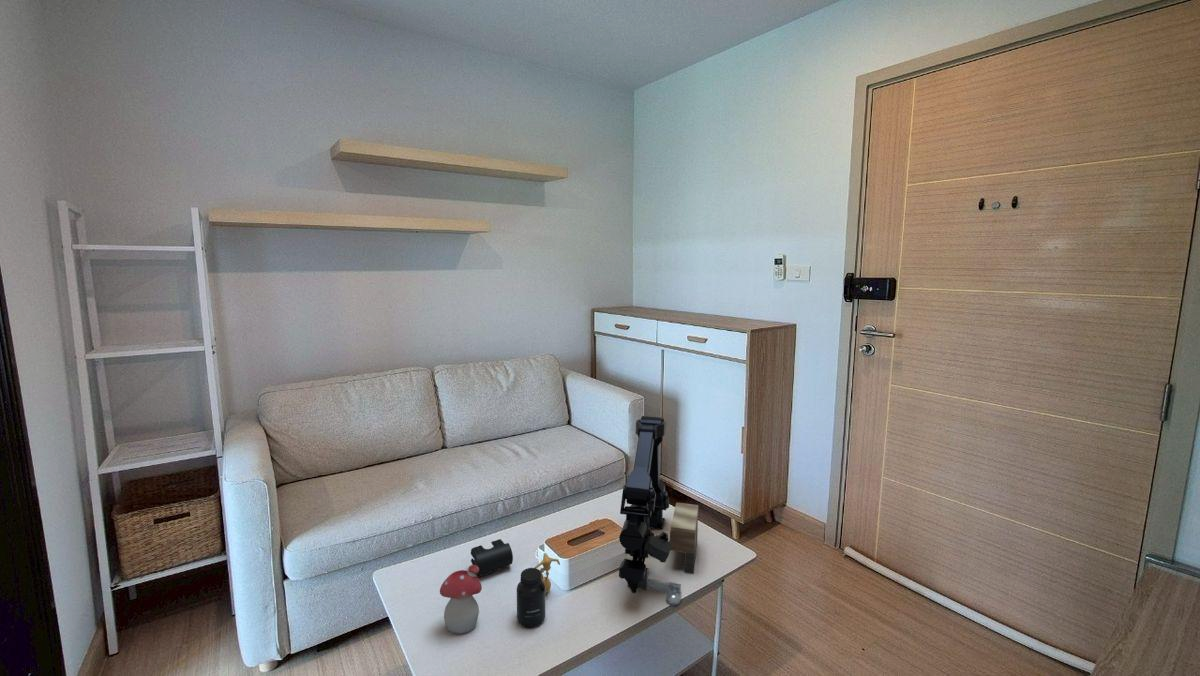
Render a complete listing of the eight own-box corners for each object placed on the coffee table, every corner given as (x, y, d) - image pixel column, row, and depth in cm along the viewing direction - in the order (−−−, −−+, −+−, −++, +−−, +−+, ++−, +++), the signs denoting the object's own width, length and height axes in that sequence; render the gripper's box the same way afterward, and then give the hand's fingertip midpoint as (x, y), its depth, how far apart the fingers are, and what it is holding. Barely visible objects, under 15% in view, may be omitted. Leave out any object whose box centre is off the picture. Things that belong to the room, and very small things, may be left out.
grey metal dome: (666, 595, 129) (667, 588, 128) (681, 597, 128) (681, 590, 127) (665, 604, 125) (665, 597, 125) (679, 607, 124) (680, 600, 124)
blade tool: (629, 582, 134) (629, 565, 133) (680, 590, 130) (681, 573, 129) (627, 587, 132) (627, 569, 131) (680, 596, 128) (680, 578, 127)
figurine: (554, 582, 134) (554, 541, 132) (564, 595, 128) (563, 553, 126) (525, 592, 130) (524, 550, 128) (534, 606, 124) (533, 563, 122)
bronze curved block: (674, 542, 152) (675, 502, 150) (697, 545, 150) (698, 505, 148) (668, 570, 139) (669, 526, 137) (693, 573, 137) (695, 530, 135)
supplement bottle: (531, 633, 116) (530, 586, 114) (511, 620, 120) (509, 575, 118) (551, 616, 121) (550, 571, 119) (531, 604, 125) (530, 561, 123)
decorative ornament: (486, 616, 121) (483, 560, 119) (477, 637, 115) (475, 577, 112) (448, 615, 122) (445, 558, 119) (438, 635, 115) (434, 576, 113)
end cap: (478, 583, 134) (477, 560, 133) (470, 569, 140) (468, 547, 138) (513, 570, 139) (512, 548, 138) (503, 557, 145) (503, 536, 144)
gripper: (664, 553, 118) (663, 612, 121) (673, 514, 136) (672, 566, 139) (618, 546, 121) (618, 604, 124) (633, 509, 139) (632, 560, 142)
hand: (637, 582), depth 132 cm, fingers open, 8 cm apart
